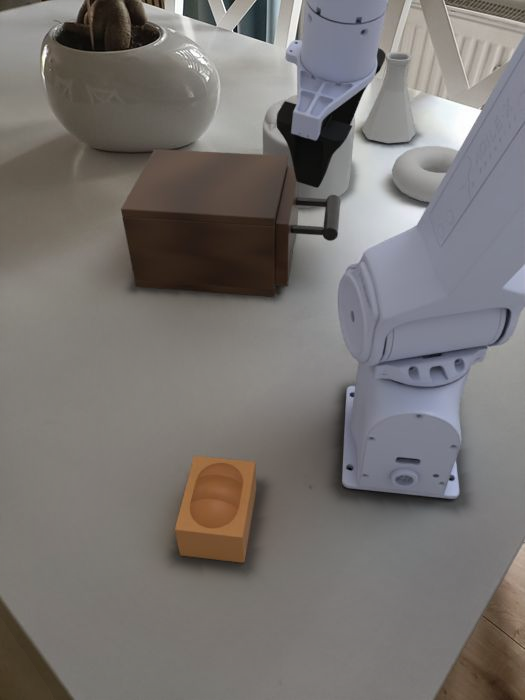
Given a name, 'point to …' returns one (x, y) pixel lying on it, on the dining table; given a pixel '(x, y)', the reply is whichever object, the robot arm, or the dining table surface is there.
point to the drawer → (289, 225)
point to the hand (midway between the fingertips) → (322, 154)
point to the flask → (392, 104)
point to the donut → (422, 170)
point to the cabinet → (205, 221)
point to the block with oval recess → (217, 509)
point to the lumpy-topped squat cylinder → (277, 145)
